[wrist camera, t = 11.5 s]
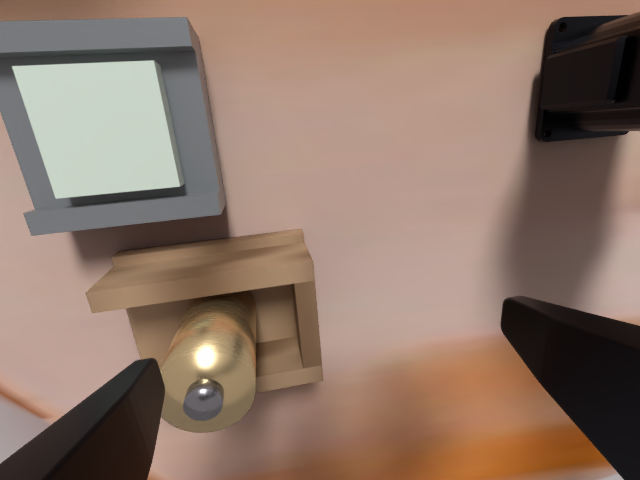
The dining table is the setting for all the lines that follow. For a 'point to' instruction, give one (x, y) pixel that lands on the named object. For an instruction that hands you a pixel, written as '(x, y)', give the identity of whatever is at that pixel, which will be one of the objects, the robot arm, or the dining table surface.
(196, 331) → the cell bronze
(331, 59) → the dining table surface
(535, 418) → the dining table surface
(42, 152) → the checker pad
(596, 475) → the dining table surface
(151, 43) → the base
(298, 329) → the wooden open box
